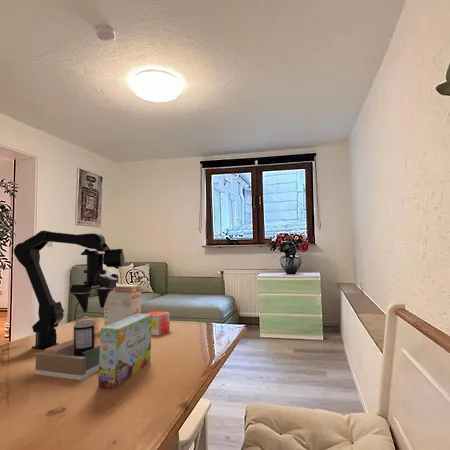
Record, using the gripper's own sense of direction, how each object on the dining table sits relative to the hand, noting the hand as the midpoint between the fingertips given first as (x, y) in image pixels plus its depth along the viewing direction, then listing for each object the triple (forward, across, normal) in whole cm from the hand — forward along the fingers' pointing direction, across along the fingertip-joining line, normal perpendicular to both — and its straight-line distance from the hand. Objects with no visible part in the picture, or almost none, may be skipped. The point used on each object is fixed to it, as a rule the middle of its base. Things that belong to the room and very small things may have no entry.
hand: (94, 309), depth 124 cm
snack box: (+13, -20, -28) cm, 37 cm away
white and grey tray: (+13, -19, -11) cm, 25 cm away
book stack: (+12, -19, -6) cm, 23 cm away
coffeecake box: (+13, +25, +5) cm, 29 cm away
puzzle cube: (+13, +25, -12) cm, 31 cm away
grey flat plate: (+12, -19, -17) cm, 28 cm away
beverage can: (+12, -19, -12) cm, 26 cm away
